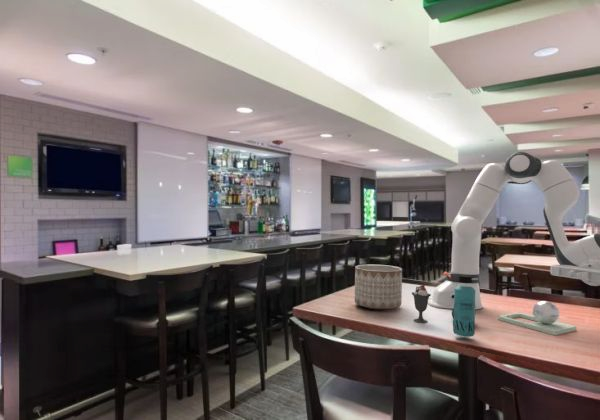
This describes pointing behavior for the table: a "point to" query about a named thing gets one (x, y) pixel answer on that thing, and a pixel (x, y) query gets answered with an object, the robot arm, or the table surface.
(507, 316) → the hole plate
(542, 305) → the steel ball
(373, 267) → the planter
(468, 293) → the beverage bottle
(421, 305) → the sundae
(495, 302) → the table surface
